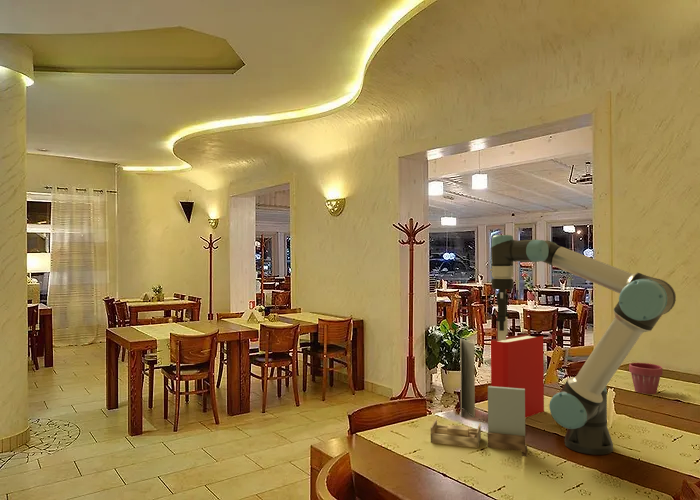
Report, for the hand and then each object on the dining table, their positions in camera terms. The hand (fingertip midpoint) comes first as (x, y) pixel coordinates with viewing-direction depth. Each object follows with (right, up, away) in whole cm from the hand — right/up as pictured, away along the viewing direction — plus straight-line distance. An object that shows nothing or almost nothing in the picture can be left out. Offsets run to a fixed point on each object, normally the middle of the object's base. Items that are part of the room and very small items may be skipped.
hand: (502, 337), depth 187 cm
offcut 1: (-18, -33, -7) cm, 38 cm away
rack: (-18, -37, -5) cm, 41 cm away
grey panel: (-2, -36, -10) cm, 37 cm away
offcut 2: (-17, -35, -7) cm, 40 cm away
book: (+14, -37, +28) cm, 49 cm away
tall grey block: (-5, -37, +33) cm, 50 cm away
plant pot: (+88, -38, +65) cm, 116 cm away
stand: (-2, -37, -10) cm, 38 cm away
